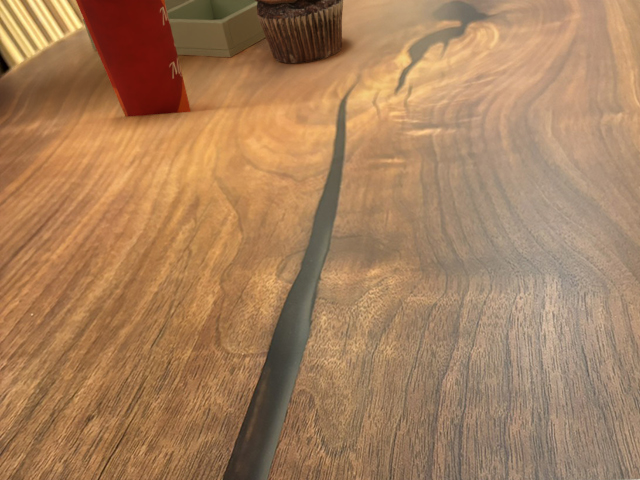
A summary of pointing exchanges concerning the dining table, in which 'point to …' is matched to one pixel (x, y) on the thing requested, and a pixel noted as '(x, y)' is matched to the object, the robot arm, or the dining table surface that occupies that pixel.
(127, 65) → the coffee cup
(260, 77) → the dining table surface
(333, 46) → the cupcake
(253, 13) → the holder
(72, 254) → the dining table surface
